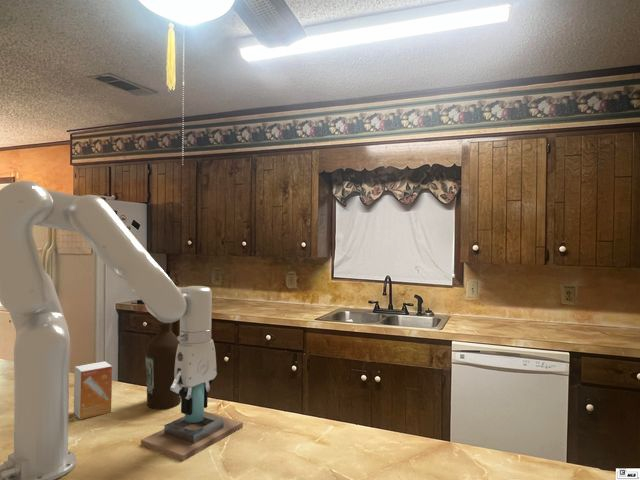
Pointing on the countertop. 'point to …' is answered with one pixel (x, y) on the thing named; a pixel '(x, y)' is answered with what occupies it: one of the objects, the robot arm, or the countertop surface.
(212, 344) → the robot arm
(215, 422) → the collar board
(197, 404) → the teal peg
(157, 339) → the olive oil
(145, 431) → the countertop surface
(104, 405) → the small box
